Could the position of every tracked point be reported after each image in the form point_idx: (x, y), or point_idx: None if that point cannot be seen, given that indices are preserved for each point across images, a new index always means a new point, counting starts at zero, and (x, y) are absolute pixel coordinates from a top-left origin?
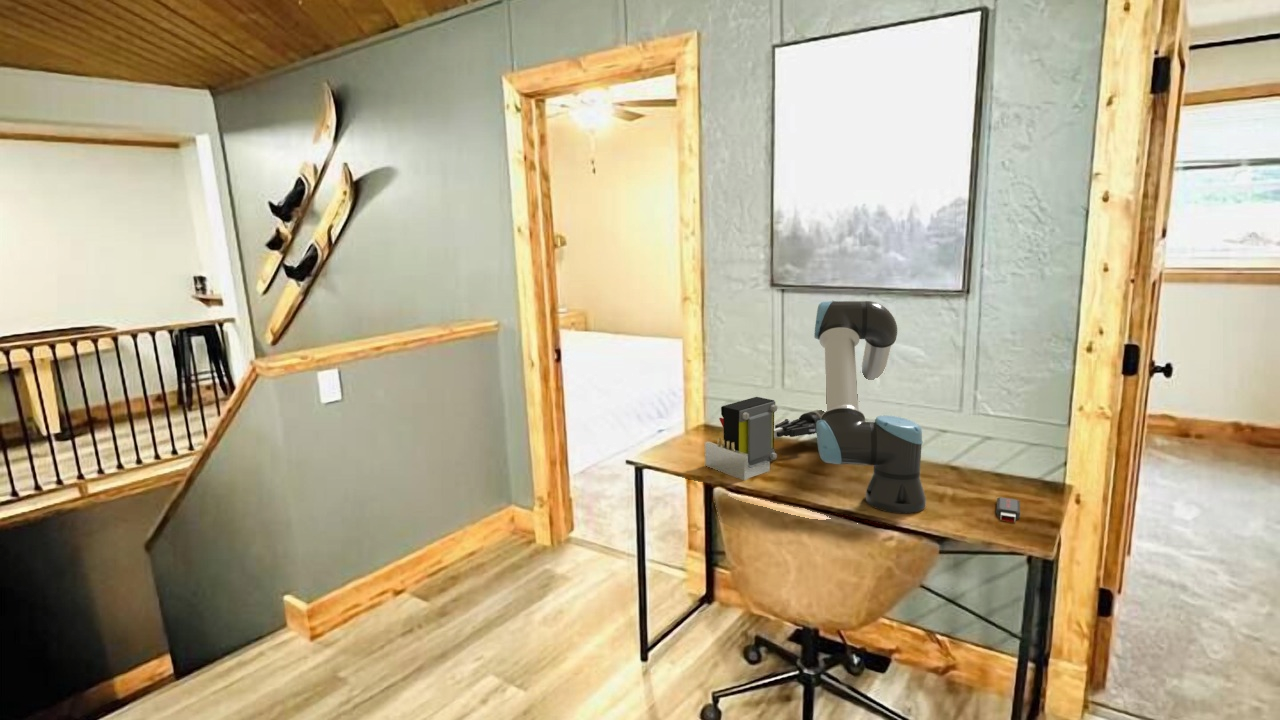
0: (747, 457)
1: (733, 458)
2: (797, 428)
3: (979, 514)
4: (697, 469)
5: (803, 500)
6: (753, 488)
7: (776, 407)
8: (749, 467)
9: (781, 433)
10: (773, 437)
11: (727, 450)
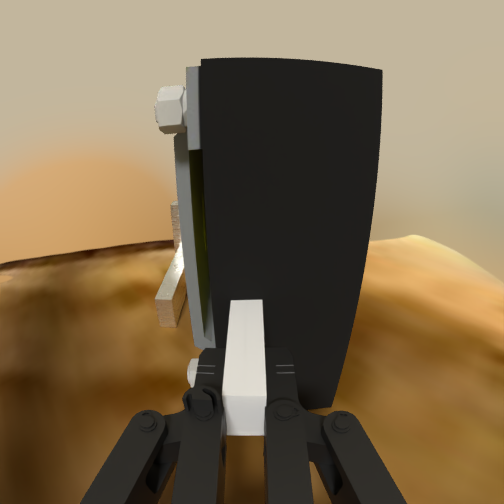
0: (171, 213)
1: None
2: (112, 480)
3: None
4: None
5: (39, 265)
6: (140, 254)
7: (156, 104)
8: (181, 254)
9: (198, 368)
10: (215, 327)
11: None
